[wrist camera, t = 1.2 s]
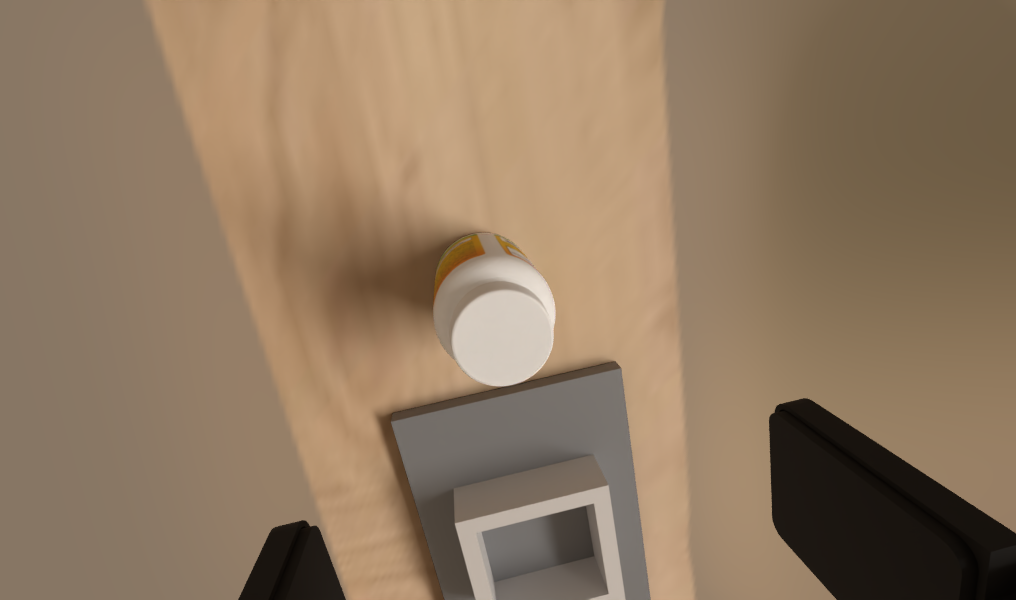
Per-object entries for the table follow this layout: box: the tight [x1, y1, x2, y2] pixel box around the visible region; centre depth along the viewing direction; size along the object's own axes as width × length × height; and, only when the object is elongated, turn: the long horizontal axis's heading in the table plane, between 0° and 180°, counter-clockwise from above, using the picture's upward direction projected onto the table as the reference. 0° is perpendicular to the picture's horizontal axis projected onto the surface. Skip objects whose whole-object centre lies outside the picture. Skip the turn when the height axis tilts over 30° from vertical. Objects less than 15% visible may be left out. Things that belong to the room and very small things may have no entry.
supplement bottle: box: [433, 233, 555, 386], centre depth 23 cm, size 5×5×10 cm
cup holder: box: [391, 362, 651, 600], centre depth 31 cm, size 20×14×4 cm
